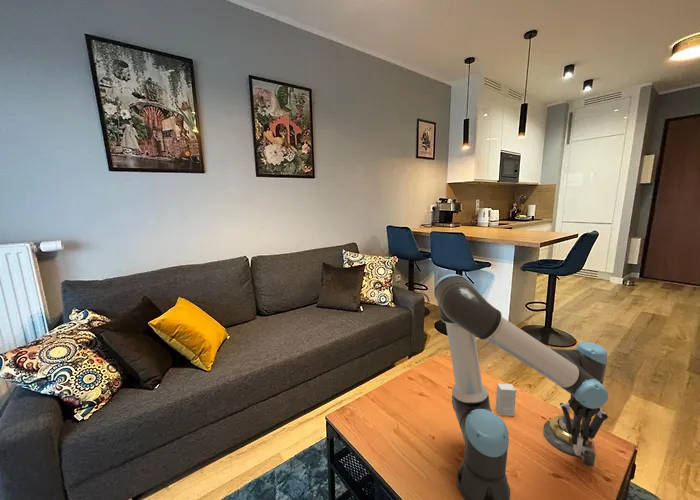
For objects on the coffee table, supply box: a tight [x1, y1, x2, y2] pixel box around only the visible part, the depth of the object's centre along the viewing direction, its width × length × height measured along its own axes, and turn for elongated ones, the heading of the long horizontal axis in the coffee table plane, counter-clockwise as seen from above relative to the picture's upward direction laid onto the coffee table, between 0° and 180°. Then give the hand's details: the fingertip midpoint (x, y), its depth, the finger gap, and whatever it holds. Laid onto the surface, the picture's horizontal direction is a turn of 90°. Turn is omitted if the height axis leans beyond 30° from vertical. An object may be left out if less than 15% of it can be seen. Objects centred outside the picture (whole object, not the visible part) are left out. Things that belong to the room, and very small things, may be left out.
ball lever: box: [549, 413, 596, 468], centre depth 106 cm, size 19×11×4 cm, turn 170°
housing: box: [542, 417, 595, 458], centre depth 110 cm, size 15×15×8 cm
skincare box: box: [495, 383, 517, 417], centre depth 124 cm, size 6×4×12 cm
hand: (576, 452), depth 102 cm, fingers closed
